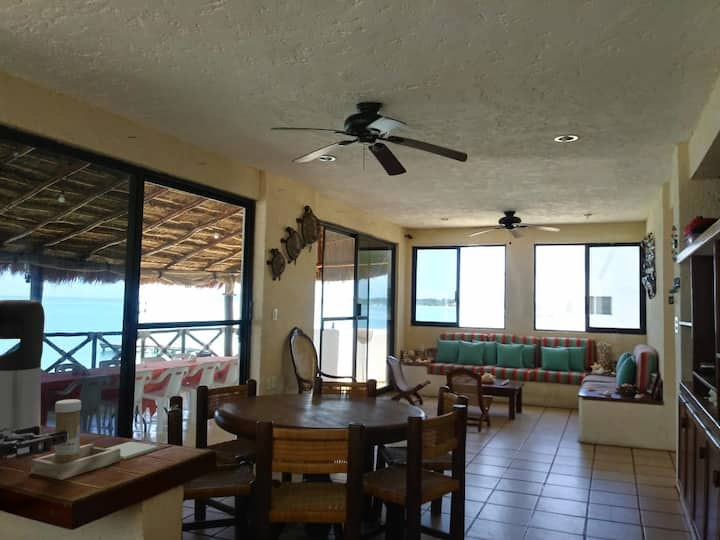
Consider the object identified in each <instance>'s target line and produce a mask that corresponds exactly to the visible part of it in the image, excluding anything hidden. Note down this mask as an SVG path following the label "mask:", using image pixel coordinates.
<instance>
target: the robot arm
mask: <svg viewBox="0 0 720 540" xmlns="http://www.w3.org/2000/svg"><path fill="white" fill-rule="evenodd" d="M45 318H46V317H45V309H44V307H43V304H42V303H41V301H39V300H37V299H2V300H1V299H0V340H19V345H18V347H17V348H16V349H14V350H12V351H10V352H7V353H5V354H2V355H0V459H1V458H2V457H3V458H4V459H9V458H10V459H11V458H14V457H15V459H18V460H21V459H24V458H27V457H33V456H36V455H40V454H45V453H49V452H52V447H55V445H58V444H62V443H65V442H66V441H67V431H58V432H56V431H54V432H51V433H44V434H41V431H42V430H41V414H42V413H41V405H42V403H41V402H42V401H41V398H42V395H41V394H42V393H41V392H42V391H41V389H42V387H41V386H42V382H41V381H42V380H41V379H42V376H41V375H42V357H43V351H44V334H45ZM39 444H40V445H39Z"/></svg>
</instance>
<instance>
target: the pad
mask: <svg viewBox="0 0 720 540" xmlns="http://www.w3.org/2000/svg"><path fill="white" fill-rule="evenodd" d="M116 448H119V449H120V460H124V459H125V460H127V458H128V459H130V458H131V459H132V458H135V457H137V456H140V455H143V454H144V455H145V454H146V453H150V452H153V451H157V450H159V445H155V444H147V443H141V442H136V441H128V442H124V443H121V444H117V445H112V446H109V447H107V448H105V449H111V450H113V449H116Z"/></svg>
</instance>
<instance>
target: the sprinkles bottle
mask: <svg viewBox="0 0 720 540" xmlns="http://www.w3.org/2000/svg"><path fill="white" fill-rule="evenodd" d="M81 410H82V401H81V400H80V399H78V398H77V399H71V398H70V399H69V398H68V399H62V400H58V401H56V402H55V405H54V412H55V432H58V431H67V441H66V442H65V443H62V444H58V445H54V453H55V462H56V463H61V464H64V463H68V462H71V461H75V460H78V459H79V452H80V446H81Z"/></svg>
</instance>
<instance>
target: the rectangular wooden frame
mask: <svg viewBox="0 0 720 540" xmlns="http://www.w3.org/2000/svg"><path fill="white" fill-rule="evenodd" d="M30 461H31V463H30V464H31V465H30V466H31V468H30V472H31V473H32V474H35V475H40V476H44V477H48V478H53V479H57V480H60V481H61V480H65V479H67V478H71V477H74V476H78V475H80V474H83V473H86V472H90V471H93V470H96V469H99V468H103V467H105V466H109V465H113V464H115V462H116V463H119V462H121V459H120V449H119V448H116V449H113V450H111V449H106V448H105V447H98V446H95V444H94V443H88V444H85V445H80V452H79V459H78V460H75V461H71V462H68V463H64V464H61V463H56V462H55V452H54V453H51V454H47V455H44V456H43V455H42V456H40V457H37V458H32V459H31V460H30ZM118 461H119V462H118ZM112 463H113V464H112Z"/></svg>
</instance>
